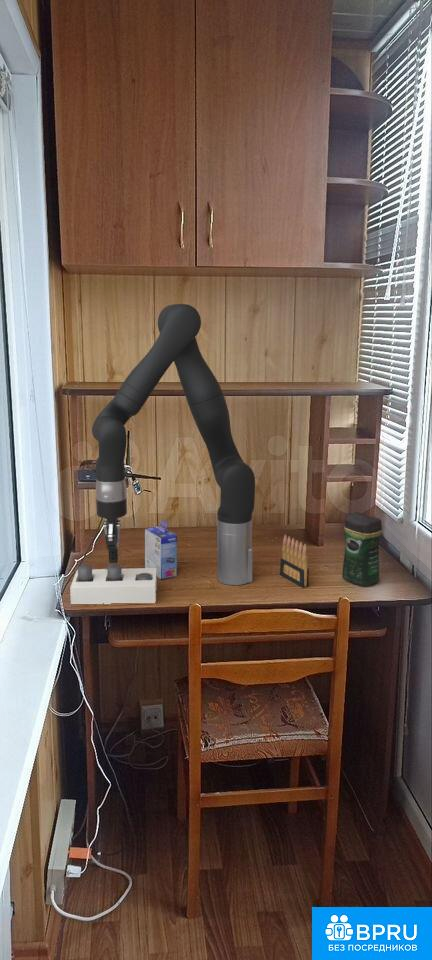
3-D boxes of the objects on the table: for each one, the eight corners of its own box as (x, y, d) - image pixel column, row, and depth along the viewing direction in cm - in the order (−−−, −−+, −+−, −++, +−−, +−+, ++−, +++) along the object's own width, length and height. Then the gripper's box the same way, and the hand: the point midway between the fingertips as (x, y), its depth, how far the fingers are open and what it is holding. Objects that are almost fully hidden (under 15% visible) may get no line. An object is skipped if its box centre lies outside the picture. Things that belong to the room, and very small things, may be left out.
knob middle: (122, 578, 183) (121, 563, 182) (121, 583, 179) (120, 569, 178) (108, 578, 183) (107, 564, 182) (107, 584, 179) (106, 569, 178)
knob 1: (93, 579, 183) (92, 564, 182) (91, 584, 179) (91, 569, 178) (79, 579, 182) (78, 564, 181) (77, 584, 179) (76, 570, 178)
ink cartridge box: (178, 576, 195) (177, 526, 191) (161, 580, 192) (159, 530, 188) (161, 565, 203) (160, 517, 199) (144, 569, 200) (143, 520, 196)
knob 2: (151, 587, 184) (151, 572, 183) (151, 592, 181) (150, 578, 179) (137, 587, 184) (137, 573, 183) (137, 593, 180) (136, 578, 179)
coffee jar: (384, 582, 190) (388, 516, 185) (364, 589, 185) (367, 522, 180) (357, 571, 197) (360, 508, 193) (337, 578, 193) (339, 513, 188)
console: (157, 585, 188) (156, 567, 187) (155, 604, 177) (155, 585, 176) (77, 587, 187) (76, 569, 186) (71, 606, 176) (70, 588, 175)
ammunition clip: (308, 586, 187) (310, 544, 184) (303, 588, 186) (304, 545, 183) (285, 573, 196) (286, 532, 193) (279, 574, 195) (280, 533, 192)
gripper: (124, 504, 169) (126, 571, 174) (128, 489, 182) (130, 552, 186) (92, 504, 169) (95, 572, 173) (98, 489, 182) (101, 553, 186)
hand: (113, 561), depth 180 cm, fingers closed
